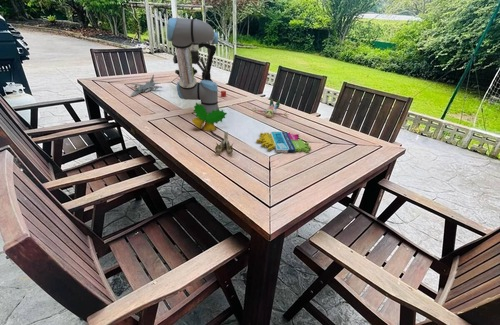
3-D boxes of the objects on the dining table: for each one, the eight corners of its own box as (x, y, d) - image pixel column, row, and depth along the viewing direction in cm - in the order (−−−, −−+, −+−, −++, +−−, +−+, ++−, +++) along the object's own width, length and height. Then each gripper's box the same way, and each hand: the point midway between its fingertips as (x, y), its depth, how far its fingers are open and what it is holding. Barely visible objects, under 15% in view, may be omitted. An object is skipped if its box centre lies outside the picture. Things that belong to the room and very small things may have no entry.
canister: (226, 96, 232) (227, 91, 230) (224, 97, 229) (224, 92, 227) (222, 95, 234) (222, 90, 232) (220, 96, 231) (220, 91, 228)
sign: (313, 150, 142) (258, 149, 139) (312, 153, 143) (258, 152, 140) (301, 132, 164) (254, 130, 161) (301, 134, 165) (254, 133, 162)
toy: (292, 100, 208) (288, 110, 182) (291, 109, 211) (287, 120, 186) (258, 96, 213) (250, 105, 187) (258, 105, 216) (249, 115, 190)
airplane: (124, 86, 239) (122, 75, 233) (160, 84, 252) (158, 73, 247) (129, 98, 210) (126, 86, 205) (168, 95, 223) (167, 83, 218)
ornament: (218, 133, 171) (224, 110, 169) (221, 134, 163) (227, 111, 161) (186, 125, 162) (192, 101, 160) (189, 126, 155) (195, 101, 153)
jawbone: (234, 135, 144) (233, 125, 135) (233, 160, 138) (232, 151, 129) (217, 135, 144) (216, 125, 135) (216, 160, 138) (214, 150, 129)
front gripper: (211, 51, 195) (211, 80, 205) (179, 48, 198) (181, 77, 208) (208, 52, 189) (208, 82, 199) (175, 49, 191) (177, 79, 201)
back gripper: (179, 65, 217) (180, 84, 225) (199, 64, 227) (200, 82, 235) (174, 63, 225) (175, 81, 232) (194, 62, 235) (194, 79, 243)
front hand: (194, 80), depth 203 cm, fingers open, 13 cm apart
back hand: (186, 81), depth 235 cm, fingers open, 9 cm apart
